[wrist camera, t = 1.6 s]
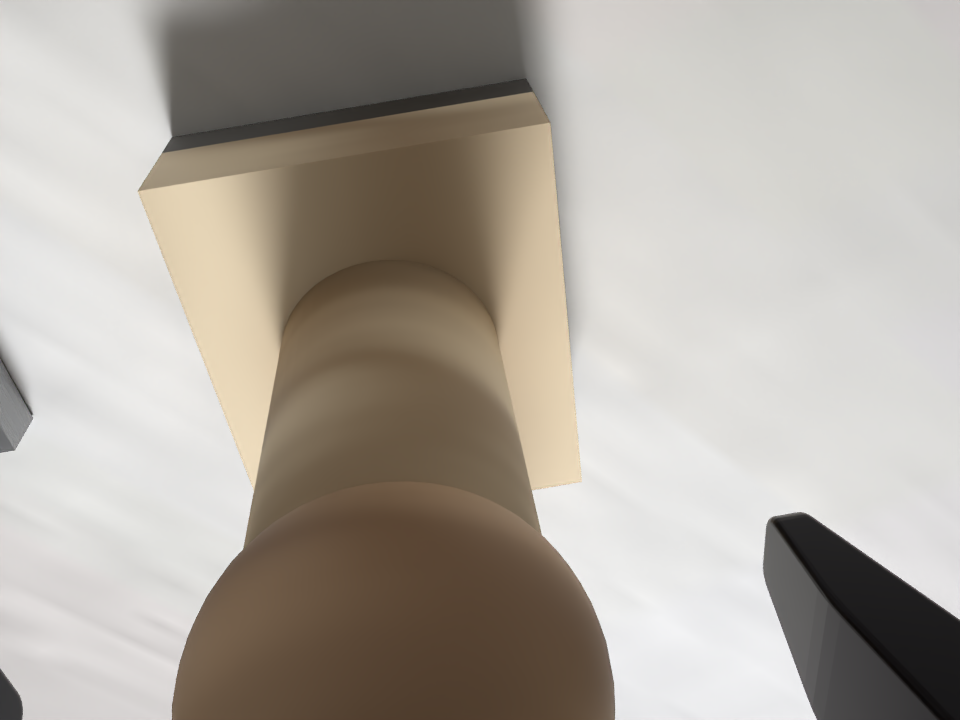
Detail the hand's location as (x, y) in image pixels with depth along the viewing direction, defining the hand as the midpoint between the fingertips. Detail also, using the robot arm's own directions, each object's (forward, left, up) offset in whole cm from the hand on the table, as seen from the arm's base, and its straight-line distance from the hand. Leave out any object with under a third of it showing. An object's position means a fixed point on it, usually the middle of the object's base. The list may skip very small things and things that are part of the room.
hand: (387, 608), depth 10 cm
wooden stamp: (0, 0, -8) cm, 8 cm away
